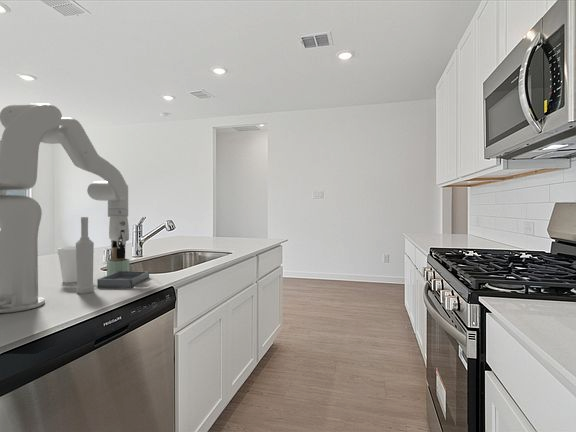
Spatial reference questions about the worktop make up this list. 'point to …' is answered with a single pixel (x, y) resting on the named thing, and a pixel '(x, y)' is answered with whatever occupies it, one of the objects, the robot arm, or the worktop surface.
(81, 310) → the worktop surface
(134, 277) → the tray
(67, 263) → the foam cup
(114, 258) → the walnut peg
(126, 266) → the deep cup
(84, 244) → the bottle
